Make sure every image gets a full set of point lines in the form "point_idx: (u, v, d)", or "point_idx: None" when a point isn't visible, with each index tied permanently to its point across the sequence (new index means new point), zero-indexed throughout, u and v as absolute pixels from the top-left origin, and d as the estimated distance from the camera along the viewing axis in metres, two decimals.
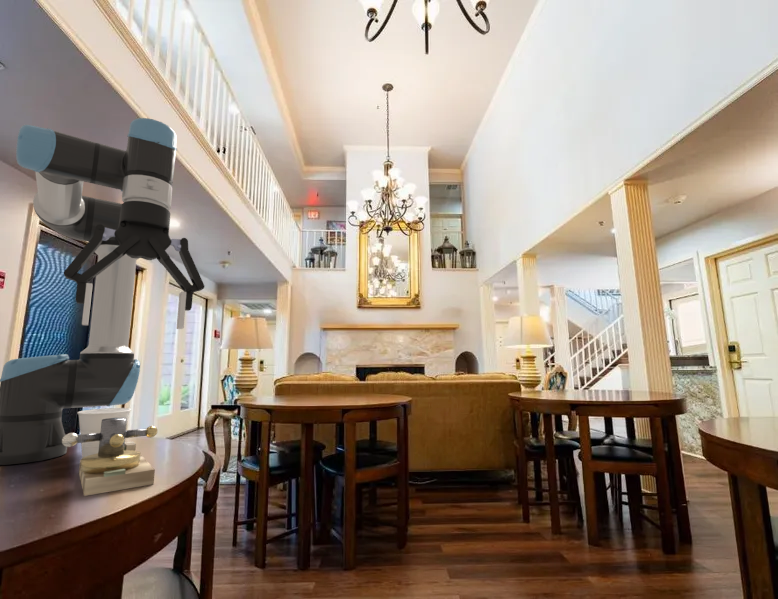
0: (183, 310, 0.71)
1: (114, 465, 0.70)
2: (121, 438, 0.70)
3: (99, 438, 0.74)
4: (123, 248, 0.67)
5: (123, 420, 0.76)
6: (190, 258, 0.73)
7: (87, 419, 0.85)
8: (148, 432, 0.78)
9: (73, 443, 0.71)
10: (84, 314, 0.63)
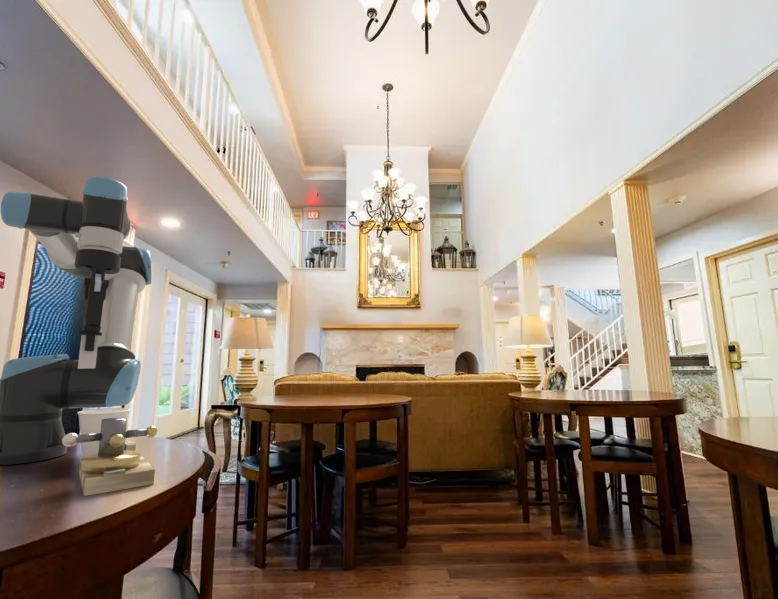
0: None
1: (114, 465, 0.70)
2: (121, 438, 0.70)
3: (99, 438, 0.74)
4: None
5: (123, 420, 0.76)
6: (87, 300, 0.76)
7: (87, 419, 0.85)
8: (148, 432, 0.78)
9: (73, 443, 0.71)
10: None
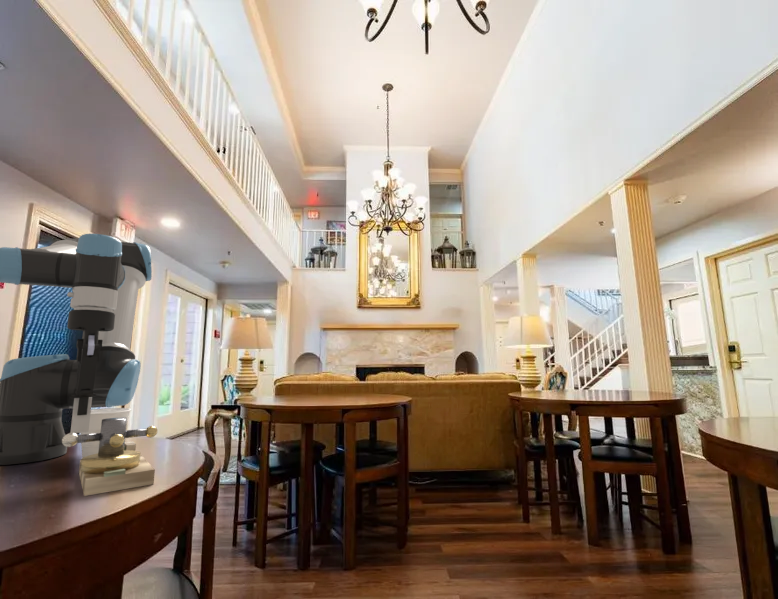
0: (72, 416, 0.76)
1: (114, 465, 0.70)
2: (121, 438, 0.70)
3: (99, 438, 0.74)
4: None
5: (123, 420, 0.76)
6: (80, 364, 0.75)
7: None
8: (148, 432, 0.78)
9: (73, 443, 0.71)
10: (71, 424, 0.77)
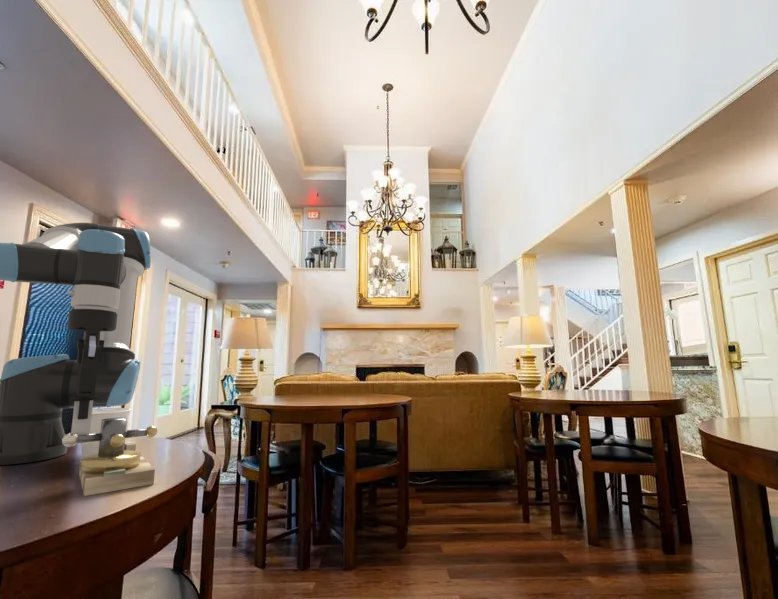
0: (72, 420, 0.73)
1: (114, 465, 0.70)
2: (121, 438, 0.70)
3: (99, 438, 0.74)
4: (77, 356, 0.76)
5: (123, 420, 0.76)
6: (81, 366, 0.71)
7: None
8: (148, 432, 0.78)
9: (73, 443, 0.71)
10: (71, 429, 0.73)
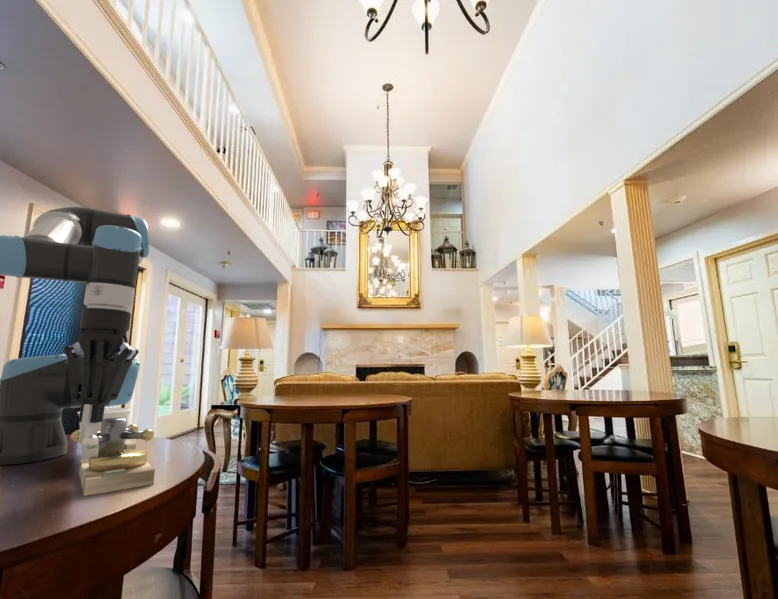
0: (85, 424, 0.70)
1: (143, 458, 0.75)
2: (153, 432, 0.76)
3: (109, 438, 0.73)
4: (87, 357, 0.71)
5: (126, 419, 0.77)
6: (117, 368, 0.71)
7: None
8: (134, 430, 0.81)
9: (97, 444, 0.70)
10: (80, 434, 0.69)
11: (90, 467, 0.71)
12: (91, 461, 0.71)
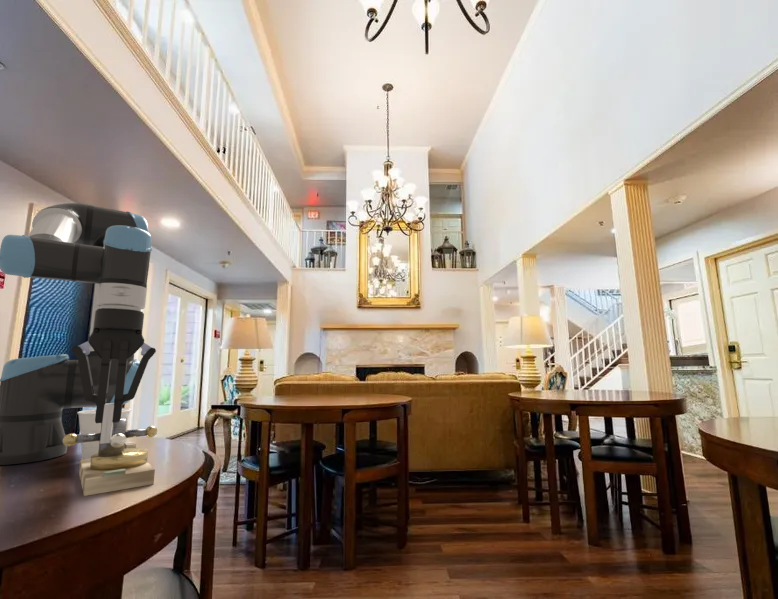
0: (110, 424, 0.70)
1: None
2: None
3: None
4: (106, 358, 0.71)
5: None
6: (143, 367, 0.74)
7: (87, 419, 0.85)
8: None
9: None
10: (102, 434, 0.69)
11: (104, 467, 0.71)
12: (106, 461, 0.71)
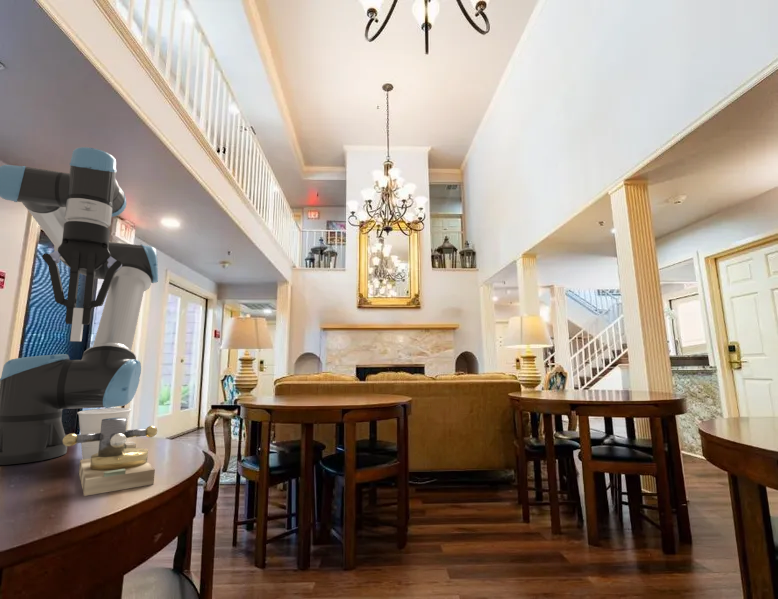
0: (79, 325, 0.78)
1: None
2: None
3: None
4: (75, 266, 0.78)
5: None
6: (110, 278, 0.82)
7: (87, 419, 0.85)
8: None
9: None
10: (72, 333, 0.78)
11: (104, 467, 0.71)
12: (106, 461, 0.71)
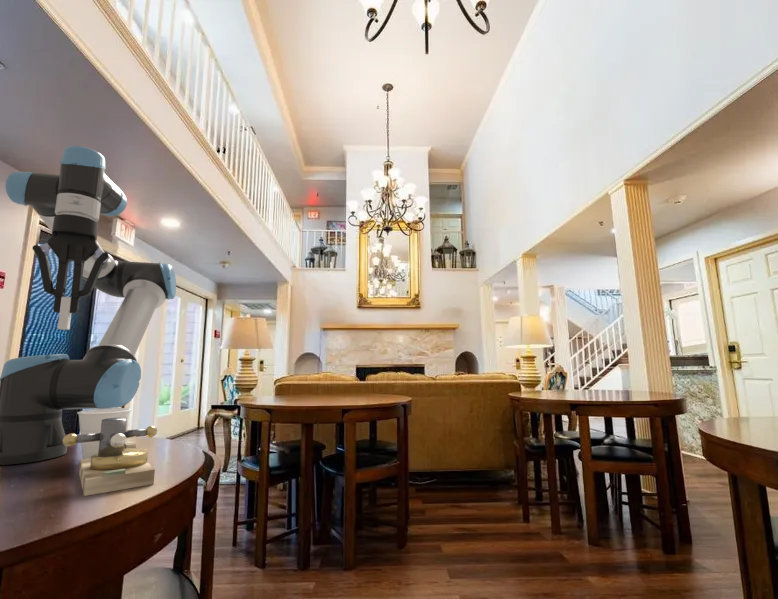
0: (67, 313, 0.82)
1: None
2: None
3: None
4: (63, 257, 0.82)
5: None
6: (97, 268, 0.85)
7: (87, 419, 0.85)
8: None
9: None
10: (59, 321, 0.81)
11: (104, 467, 0.71)
12: (106, 461, 0.71)
